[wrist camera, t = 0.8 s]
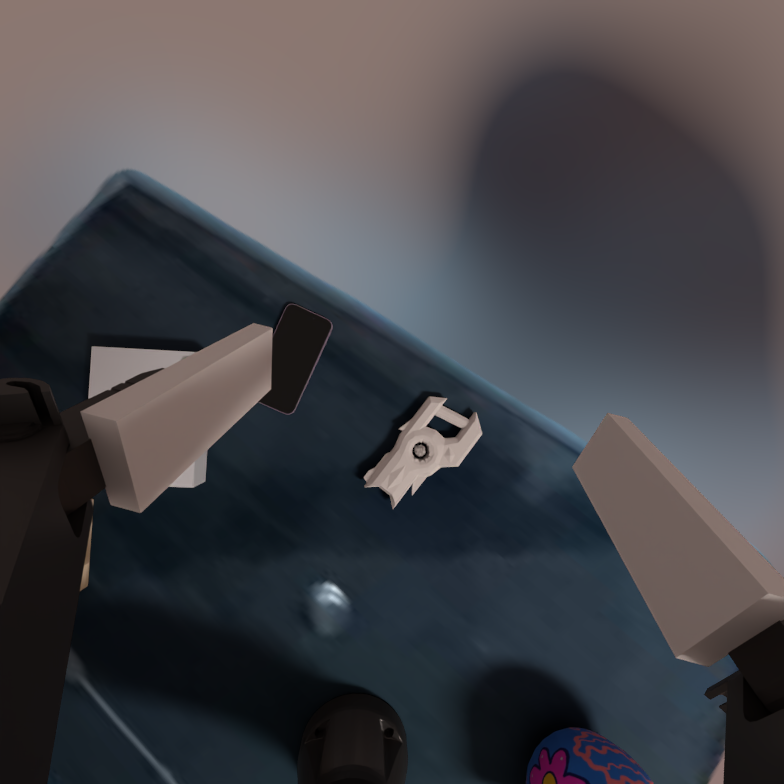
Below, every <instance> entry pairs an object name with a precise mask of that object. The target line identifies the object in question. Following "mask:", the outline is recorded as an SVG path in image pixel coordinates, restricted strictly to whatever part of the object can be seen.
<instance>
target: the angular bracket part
mask: <svg viewBox="0 0 784 784" xmlns="http://www.w3.org/2000/svg"><path fill="white" fill-rule="evenodd" d="M446 399H447V398H439V397H428V398H427V399H426V401H425V402H424V403H423V405H422V406H421V407H420V409H419V410H418V411H417V412H416V414H415V415H414V416H413V418H412V419H411V420H409V421H408V422H407V423H405V424H404V425H403V426H401V427H400V428H399V430H402V432H401V433H400V434H399V437H398V439H397V441H396V444H395V446H394V448H393V449H392V450H391V452H389V453H386V454H385V455H384V456H383V458H382V459H381V460H380V462H379V463H378V464H377V466H376V467H375V468H373V469H371V470H369V471H368V472H367V473H366V475H365V476H364V479H365V480H366V482H367V483H366V484H365V485H364V487H379V488H381V489H382V490H383V491H385V492H386V493H387V494H388V495H390V499H391V504H392V508H393V509H394V507H395V506H396V505H397V503H398V502H399V501H400V499H401V498H402V497H403V495H404V494H405V493H406V491H407V490H408V489H409V487H410V486H411V485H412V495H413V494H414V493H415V491H416V490H417V489H418V488H419V486H420V485H421V484H422V483H423V481H424V480H425V479H426V478H427V476H431V475H432V474H433V473H434V472H436V471H437V470H438V469H439V468H441V467H458V466H459V465H460V463H461V462H462V461H463V459H464V458H465V457H466V455H467V454H468V453H469V451H470V450H471V449H472V447H473V446H474V445H475V443H476V442H477V441H478V439H479V438H480V436H481V435H482V431H481V428H480V424H479V420H478V416H477V413H476V412H474V413H473V414H472V415H471V417H470V418H469V419H467V418H465V417H463V416H461V415H460V414H458V413H456V412H454V411H452V410H450V409H448V408H446V407H444V406H443V403H444V402H445V401H446ZM434 415H436V416H438V417H440V418H442V419H444V420H446V421H448V422H450V423H452V424H454V425H456V426H458V427H460V428H462V429H461V430H460V431H459V433H458V434H457V435H456V437H452V438H444V437H443V436H442V435H441V434H440V433H439V432H437V431H436V430H434V429H431V428H429V427H426V426H427V424H428V423H429V422H430V420H431V419H432V418H433V416H434ZM419 442H421V443H422V442H423V443H424V444H427V446H426V447H427V454H426V456H425V457H423V459H422V458H419V459H418V458H416V457H414V455H413V453H412V452H413V451H412V450H413V447H414V445H415V444H417V443H419ZM414 449H415V450H414V452H415V454H416V455H417V456H418V457H420V456H423V455H425V453H426V451H425V447H424V446H422V445H418V446H415V448H414Z"/></svg>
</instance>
